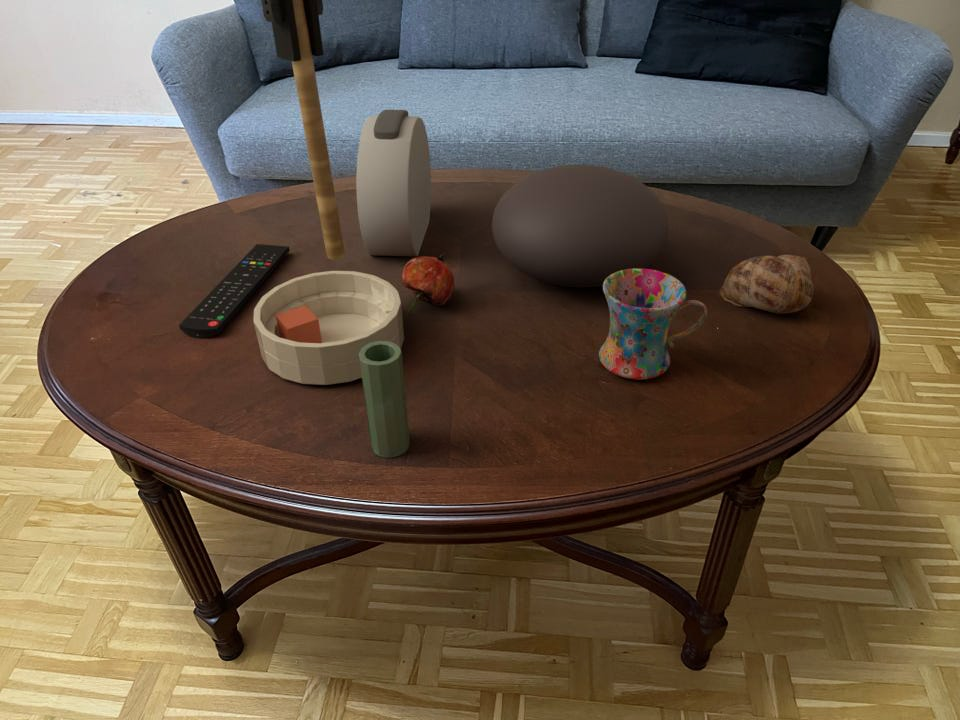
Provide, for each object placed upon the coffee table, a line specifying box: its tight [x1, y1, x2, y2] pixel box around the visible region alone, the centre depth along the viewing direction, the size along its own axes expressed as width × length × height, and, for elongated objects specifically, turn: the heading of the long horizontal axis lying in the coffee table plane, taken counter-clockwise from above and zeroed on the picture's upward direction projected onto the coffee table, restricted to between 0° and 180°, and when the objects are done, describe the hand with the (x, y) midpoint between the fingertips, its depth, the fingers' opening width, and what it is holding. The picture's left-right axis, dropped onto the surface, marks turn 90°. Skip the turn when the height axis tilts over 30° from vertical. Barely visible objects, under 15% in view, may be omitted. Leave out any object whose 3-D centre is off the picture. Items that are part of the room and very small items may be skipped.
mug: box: [598, 268, 708, 381], centre depth 84 cm, size 12×9×11 cm
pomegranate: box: [401, 251, 455, 316], centre depth 97 cm, size 7×7×10 cm
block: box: [275, 305, 322, 343], centre depth 89 cm, size 4×4×4 cm
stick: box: [291, 0, 346, 260], centre depth 72 cm, size 2×2×30 cm
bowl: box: [252, 270, 405, 386], centre depth 89 cm, size 18×18×6 cm
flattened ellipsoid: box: [491, 163, 670, 288], centre depth 102 cm, size 25×25×15 cm
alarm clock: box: [355, 109, 432, 258], centre depth 110 cm, size 21×8×20 cm, turn 175°
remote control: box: [178, 243, 291, 339], centre depth 102 cm, size 5×24×1 cm, turn 170°
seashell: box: [719, 254, 814, 315], centre depth 96 cm, size 10×9×10 cm
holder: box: [359, 341, 410, 459], centre depth 72 cm, size 4×4×12 cm
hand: (300, 55), depth 68 cm, fingers closed on stick, 2 cm apart
